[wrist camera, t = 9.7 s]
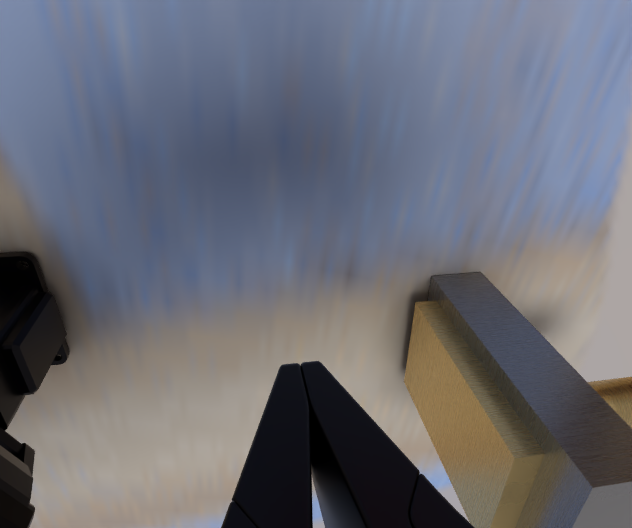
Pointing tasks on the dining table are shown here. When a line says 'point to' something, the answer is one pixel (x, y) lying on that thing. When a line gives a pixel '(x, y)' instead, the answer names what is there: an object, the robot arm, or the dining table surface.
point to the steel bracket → (546, 410)
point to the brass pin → (479, 420)
